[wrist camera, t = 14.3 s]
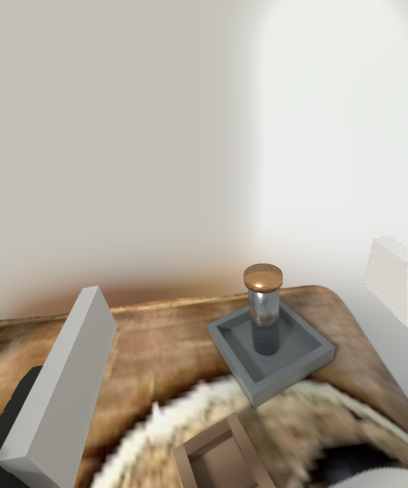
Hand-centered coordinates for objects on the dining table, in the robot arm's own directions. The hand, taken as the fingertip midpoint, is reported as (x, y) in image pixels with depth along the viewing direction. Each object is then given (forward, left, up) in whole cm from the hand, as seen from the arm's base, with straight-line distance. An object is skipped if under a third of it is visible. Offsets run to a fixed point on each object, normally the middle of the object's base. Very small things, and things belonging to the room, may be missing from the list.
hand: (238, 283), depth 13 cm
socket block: (-2, -3, -23) cm, 23 cm away
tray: (-12, +9, -23) cm, 27 cm away
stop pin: (-11, +9, -22) cm, 27 cm away
